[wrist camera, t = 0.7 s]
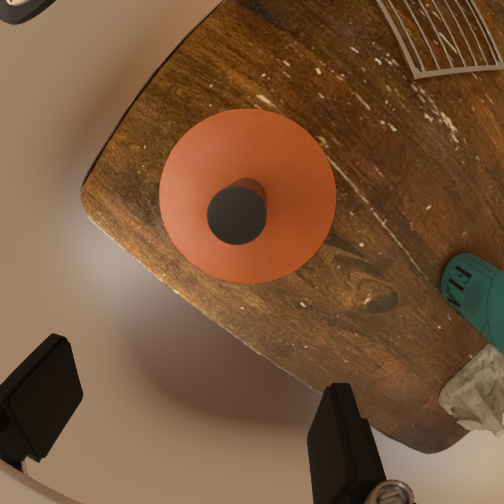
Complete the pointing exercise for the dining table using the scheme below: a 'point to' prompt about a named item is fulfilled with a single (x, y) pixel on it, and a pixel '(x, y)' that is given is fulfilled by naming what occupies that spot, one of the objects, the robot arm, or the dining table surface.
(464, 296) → the beverage bottle
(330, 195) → the lid
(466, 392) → the ceramic cottage
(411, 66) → the rack
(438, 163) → the dining table surface
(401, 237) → the dining table surface
